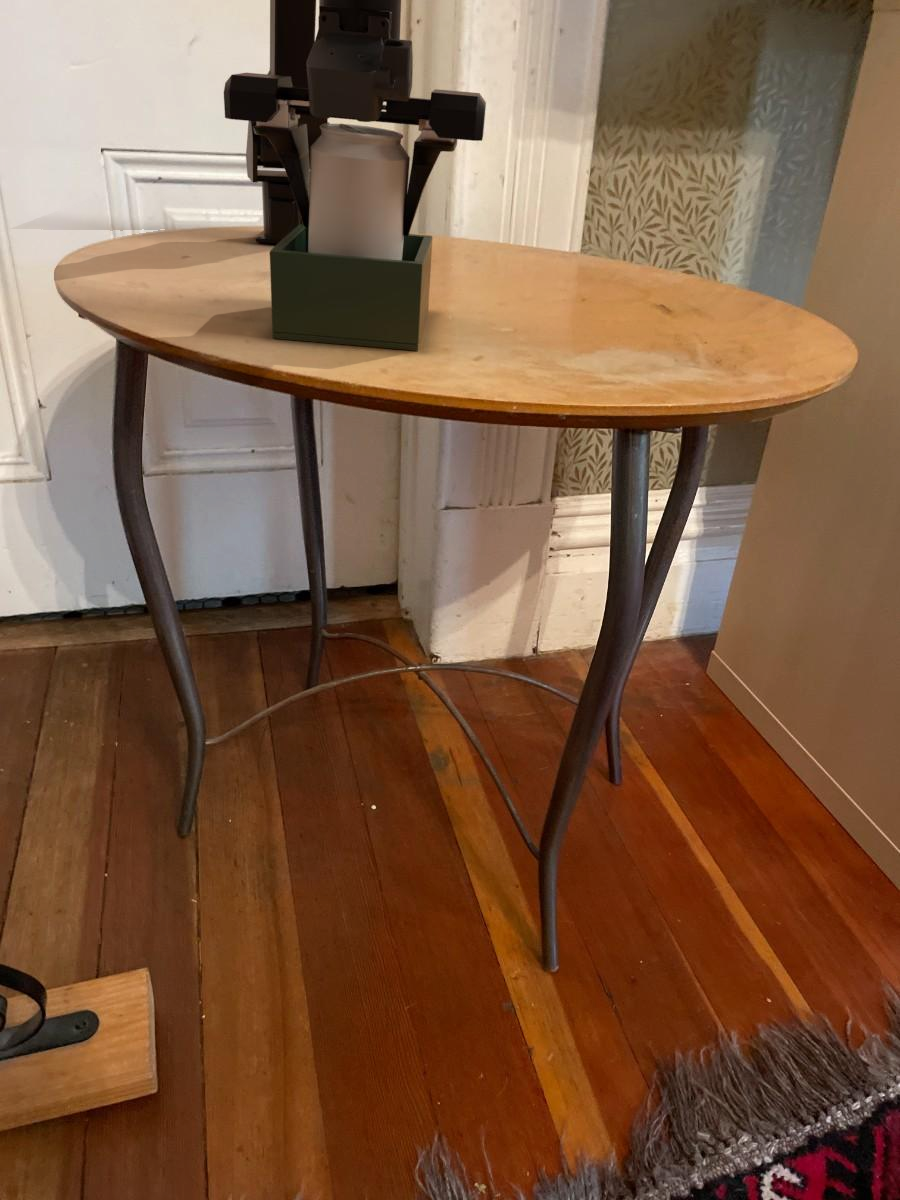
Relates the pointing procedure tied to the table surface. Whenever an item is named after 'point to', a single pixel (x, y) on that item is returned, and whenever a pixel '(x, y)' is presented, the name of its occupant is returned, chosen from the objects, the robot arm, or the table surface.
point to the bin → (350, 294)
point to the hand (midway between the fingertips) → (356, 231)
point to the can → (357, 192)
